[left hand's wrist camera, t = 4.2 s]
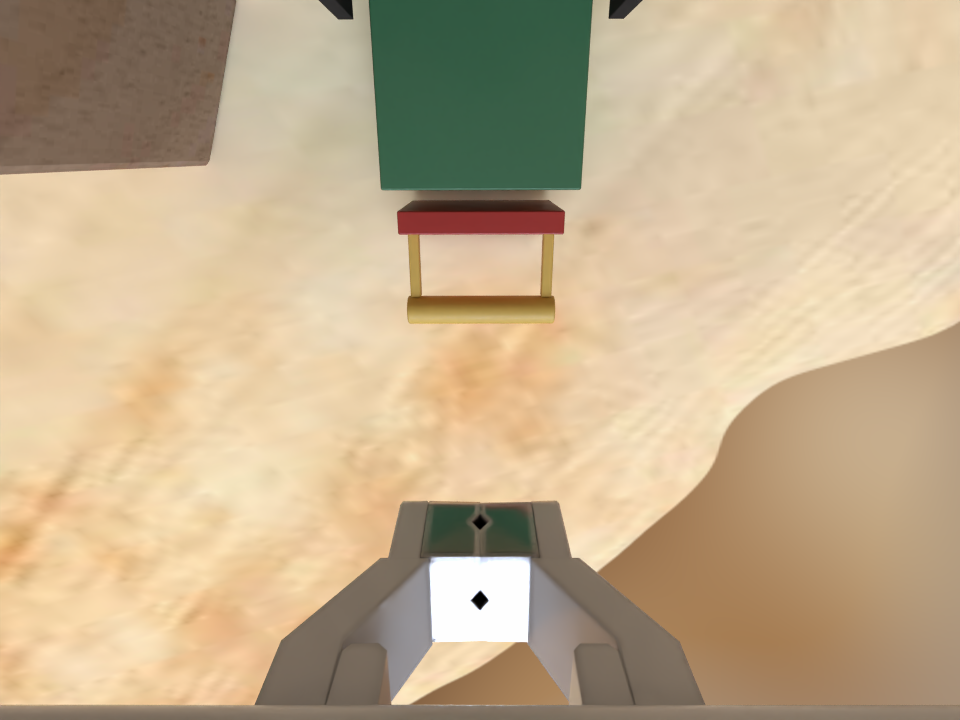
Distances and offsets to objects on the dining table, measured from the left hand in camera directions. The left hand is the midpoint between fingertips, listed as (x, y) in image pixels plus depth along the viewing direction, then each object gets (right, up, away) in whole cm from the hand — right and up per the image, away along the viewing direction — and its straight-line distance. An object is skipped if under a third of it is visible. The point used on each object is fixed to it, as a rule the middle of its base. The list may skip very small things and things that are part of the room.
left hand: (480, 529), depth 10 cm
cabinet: (0, +21, +22) cm, 31 cm away
